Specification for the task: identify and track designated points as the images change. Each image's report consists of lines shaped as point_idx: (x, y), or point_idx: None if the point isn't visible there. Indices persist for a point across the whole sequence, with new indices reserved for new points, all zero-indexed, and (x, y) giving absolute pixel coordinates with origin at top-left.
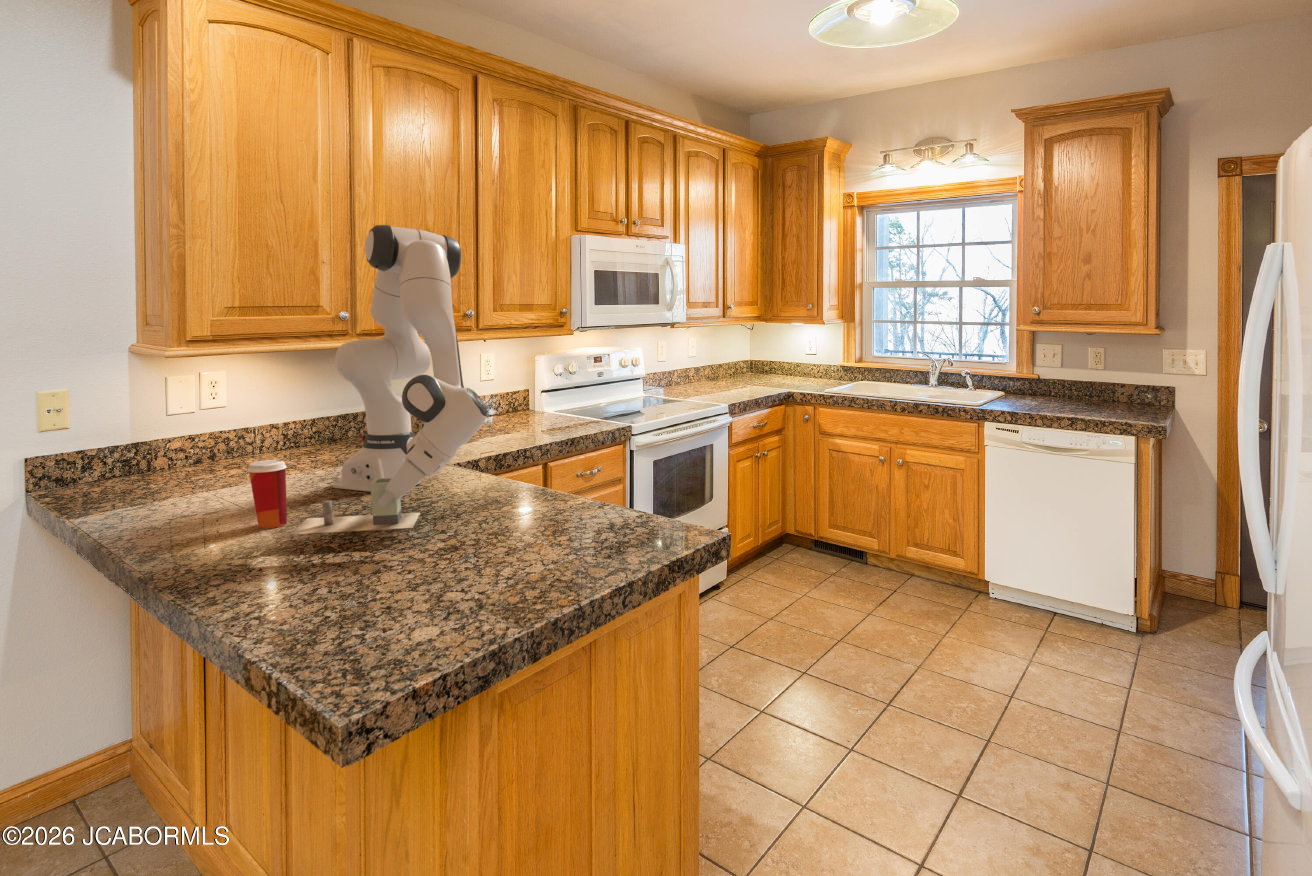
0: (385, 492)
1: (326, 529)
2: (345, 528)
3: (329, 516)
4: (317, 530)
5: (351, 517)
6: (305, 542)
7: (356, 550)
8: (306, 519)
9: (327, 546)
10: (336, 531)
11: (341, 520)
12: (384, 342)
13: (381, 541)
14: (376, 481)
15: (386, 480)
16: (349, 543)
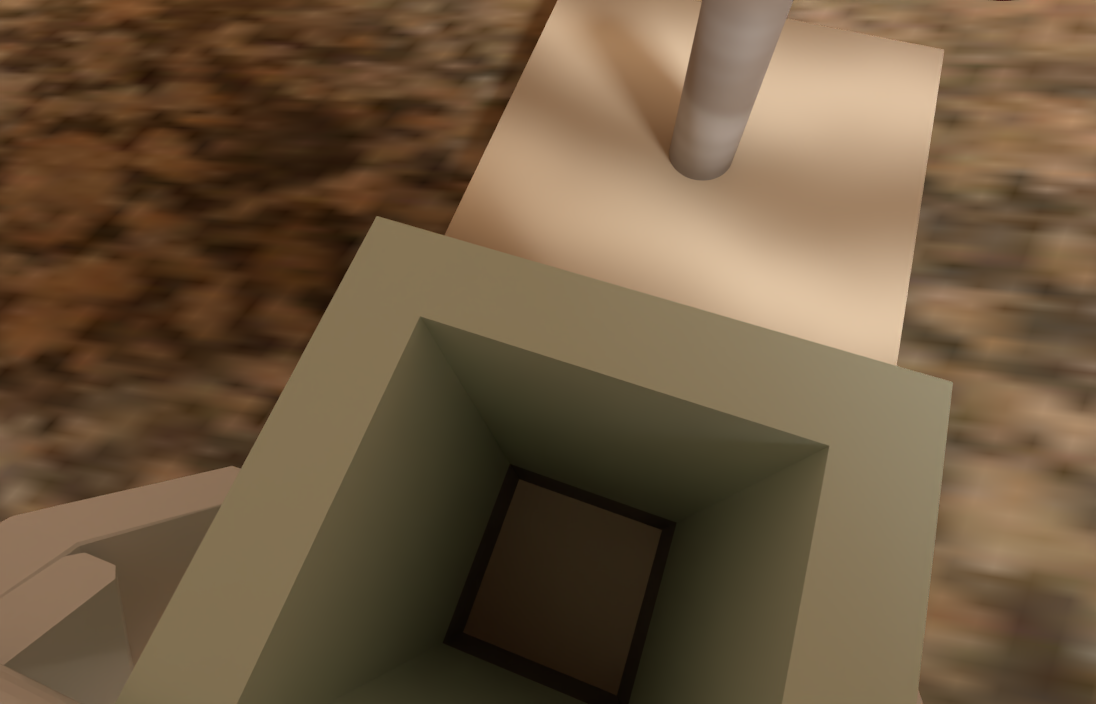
0: (98, 503)
1: (568, 133)
2: (522, 237)
3: (683, 108)
4: (575, 89)
5: (851, 309)
6: (510, 70)
7: (149, 286)
8: (910, 47)
9: (352, 157)
10: (479, 182)
11: (781, 234)
12: None
13: (227, 459)
14: (601, 376)
15: (770, 683)
16: (329, 267)
